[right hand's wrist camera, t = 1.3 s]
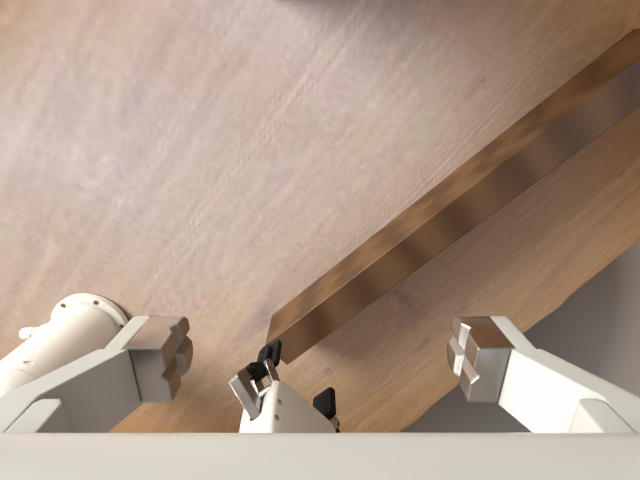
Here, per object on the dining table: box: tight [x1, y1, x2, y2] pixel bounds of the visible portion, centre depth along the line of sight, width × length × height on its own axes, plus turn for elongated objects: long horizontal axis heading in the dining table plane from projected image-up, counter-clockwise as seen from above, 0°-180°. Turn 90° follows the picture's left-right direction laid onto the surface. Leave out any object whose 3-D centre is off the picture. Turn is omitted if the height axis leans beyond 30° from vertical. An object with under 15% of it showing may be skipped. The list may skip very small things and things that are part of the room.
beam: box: [265, 28, 640, 365], centre depth 47 cm, size 63×5×8 cm, turn 131°
